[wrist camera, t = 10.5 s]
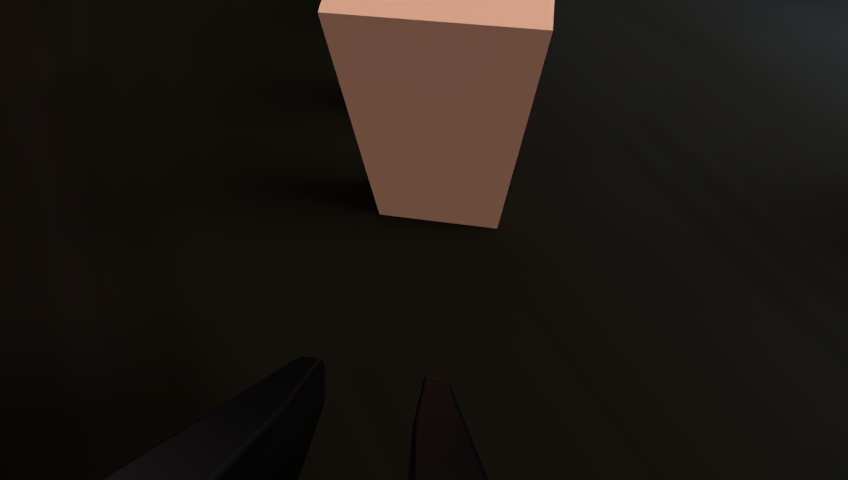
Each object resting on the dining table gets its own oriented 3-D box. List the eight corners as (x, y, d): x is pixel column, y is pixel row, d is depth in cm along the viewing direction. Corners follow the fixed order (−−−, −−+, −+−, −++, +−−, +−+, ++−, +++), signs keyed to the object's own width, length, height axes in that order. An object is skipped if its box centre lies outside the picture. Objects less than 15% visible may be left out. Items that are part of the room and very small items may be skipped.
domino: (497, 228, 18) (552, 30, 9) (379, 214, 19) (317, 12, 9) (500, 194, 19) (555, -24, 10) (386, 181, 19) (334, -39, 10)
